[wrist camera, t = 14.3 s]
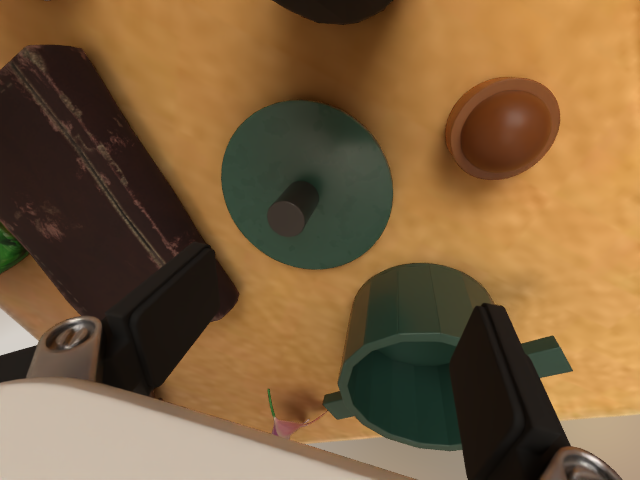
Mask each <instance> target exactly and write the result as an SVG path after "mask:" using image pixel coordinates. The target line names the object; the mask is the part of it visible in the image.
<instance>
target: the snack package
mask: <svg viewBox="0 0 640 480" xmlns="http://www.w3.org/2000/svg"><path fill="white" fill-rule="evenodd" d="M28 254H29V252H28V251H27V250H26V249H25V248H24V247H23V246H22V244H21V243H20V242H19V241H18V240H17V239H16V238H15V237H14V236H13V235H12V234H11V233H10V231H9V230H8V229H7V228H6V227H5V226H4V225H3V224H2V223H1V222H0V274H1V273H3V272H4V271H6V270H8V269H9V268H11V267H13V266H14V265H16V264H17V263H18V262H20V261H21V260H22V259H24V258H25V257H26V256H27V255H28Z"/></svg>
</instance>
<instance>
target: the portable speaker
mask: <svg viewBox="0 0 640 480" xmlns="http://www.w3.org/2000/svg"><path fill="white" fill-rule="evenodd" d="M272 1H274V2H276V3H277V4H279V5H281V6H283V7H284V8H286V9H288V10H289V11H292V12H294V13H296V14H298V15H301V17H302V16H303V17H304V18H307V19H310V20H312V21H314V22H317V23H320V24H321V23H327V24H341V25H344V24H352V23H358V22H360V21H363V20H365V19H367V18H369V17H371V16H373V15H375V14H377V13H379V12H381V11H383V10H384V9H385V8H386V7H387V5H389V4H390V3H391V2H392V1H393V0H272Z"/></svg>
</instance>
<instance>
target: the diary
mask: <svg viewBox="0 0 640 480" xmlns="http://www.w3.org/2000/svg"><path fill="white" fill-rule="evenodd" d="M0 222H1V223H2V224H3V225H4V226H5V227H6V228H7V229H8V230H9V231H10V233H11V234H12V235H13V236H14V237H15V238H16V239H17V240H18V241H19V242H20V243H21V244H22V246H23V247H24V248H25V249H26V250H27V251H28V252H29V253H30V254H31V256H32V257H33V258H34V259H35V261H36V262H37V263H38V264H39V266H40V267H41V268H42V270H43V271H44V272H45V273H46V275H47V276H48V277H49V279H50V280H51V281H52V282H53V284H54V285H55V286H56V287H57V289H58V290H59V291H60V293H61V294H62V295H63V296H64V298H65V299H66V300H67V301H68V303H69V304H70V305H71V306H72V307H73V308H74V309H75V310H76V311H77V312H78V313H79V314H80V315H81V316H93V317H95V318H98V319H99V320H100V321H101V320H102V319H103V318H104V317H106V316H105V312H106V311H107V310H109V309H110V308H111V307H112V306H114V305H115V304H116V303H117V302H119V301H120V300H121V299H122V298H124V297H125V296H126V295H127V294H129V293H130V292H131V291H132V290H134V289H135V288H136V287H137V286H139V285H140V284H141V283H142V282H144V281H145V280H146V279H147V278H149V277H150V276H151V275H152V274H154V273H155V272H156V271H157V270H159V269H160V268H161V267H162V266H164V265H165V264H166V263H167V262H169V261H170V260H171V259H172V258H174V257H175V256H176V255H177V254H179V253H180V252H181V251H182V250H184V249H185V248H186V247H187V246H189V245H190V244H191V243H193V242H198V243H203V244H205V242H204V240H203V239H202V237H201V235H200V234H199V232H198V231H197V229H196V227H195V226H194V224H193V222H192V221H191V219H190V217H189V216H188V214H187V213H186V211H185V209H184V208H183V206H182V204H181V203H180V201H179V199H178V198H177V196H176V194H175V193H174V191H173V190H172V188H171V186H170V185H169V184H168V182H167V181H166V179H165V178H164V176H163V175H162V173H161V172H160V170H159V169H158V167H157V166H156V164H155V163H154V162H153V160H152V159H151V157H150V156H149V154H148V153H147V151H146V150H145V148H144V147H143V145H142V144H141V142H140V141H139V140H138V138H137V137H136V135H135V134H134V132H133V131H132V129H131V128H130V126H129V124H128V123H127V121H126V119H125V118H124V116H123V115H122V113H121V111H120V110H119V108H118V106H117V105H116V103H115V101H114V100H113V98H112V96H111V95H110V93H109V91H108V90H107V88H106V86H105V85H104V83H103V81H102V80H101V78H100V77H99V75H98V73H97V72H96V70H95V68H94V67H93V65H92V63H91V62H90V60H89V59H88V57H87V55H86V54H85V52H84V51H83V49H82V48H77V47H72V46H63V45H29V46H26V47H24V48H23V49H22V50H21V51H20V52H19V53H18V54H17V55H16V56H15V57H14V58H13V59H12V60H11V61H10V62H8V63H7V64H6V65H5V66H4V67H3V68H2V69H1V70H0ZM215 259H216V258H215ZM216 269H217V278H218V287H219V297H220V308H219V310H218V312H217V314H216V315H215V316H214V318H213V319H212V320H211V322H213V321H217V320H220V319H221V318H223V317H224V316H225V315H226V314H227V313H228V312H229V311H230V310H231V309H232V308H233V307H234V305H235V304H236V302H237V301H238V296H239V292H238V291H237V289H236V288H235V286H234V285H233V283H232V282H231V280H230V279H229V277H228V276H227V274H226V273H225V271H224V270H223V268H222V267H221V266H220V264H219V263H218V261H217V260H216Z"/></svg>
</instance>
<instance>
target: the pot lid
mask: <svg viewBox="0 0 640 480" xmlns="http://www.w3.org/2000/svg"><path fill="white" fill-rule="evenodd" d="M221 180H222V190H223V195H224V199H225V202H226V205H227V208H228V210H229V213H230V215H231V217H232V219H233V220H234V222H235V224H236V225H237V227H238V228H239V230H240V231H241V232H242V234H243V235H244V236H245V237H246V238H247V239H248V240H249V241H250V242H251V243H252V244H253V245H254V246H255V247H256V248H258V249H259V250H260V251H262V252H263V253H265V254H266V255H268V256H269V257H271V258H273V259H275V260H277V261H279V262H282V263H284V264H287V265H290V266H293V267H298V268H303V269H328V268H334V267H338V266H341V265H344V264H346V263H349V262H351V261H353V260H355V259H357V258H358V257H360V256H361V255H363V254H364V253H365V252H367V251H368V250H369V249H370V248H371V247H372V246H373V245H374V244H375V243H376V241H377V240H378V239H379V237H380V236H381V234H382V232H383V231H384V229H385V227H386V225H387V222H388V219H389V217H390V213H391V208H392V200H393V184H392V177H391V172H390V168H389V165H388V162H387V159H386V157H385V155H384V153H383V151H382V149H381V147H380V145H379V144H378V142H377V141H376V140H375V138H374V137H373V135H372V134H371V133H370V132H369V131H368V130H367V129H366V128H365V127H364V126H363V125H362V124H361V123H360V122H359V121H357V120H356V119H355V118H354V117H352V116H351V115H349V114H347V113H346V112H344V111H342V110H341V109H338V108H336V107H333V106H331V105H329V104H325V103H321V102H317V101H310V100H289V101H284V102H278V103H275V104H272V105H270V106H267V107H264V108H263V109H261V110H259V111H257V112H255V113H254V114H252V115H251V116H250V117H249V118H247V119H246V120H245V121H244V122H243V123H242V124H241V125H240V126H239V127H238V129H237V130H236V131H235V133H234V134H233V136H232V137H231V139H230V141H229V144H228V146H227V148H226V151H225V154H224V158H223V163H222V174H221Z"/></svg>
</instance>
